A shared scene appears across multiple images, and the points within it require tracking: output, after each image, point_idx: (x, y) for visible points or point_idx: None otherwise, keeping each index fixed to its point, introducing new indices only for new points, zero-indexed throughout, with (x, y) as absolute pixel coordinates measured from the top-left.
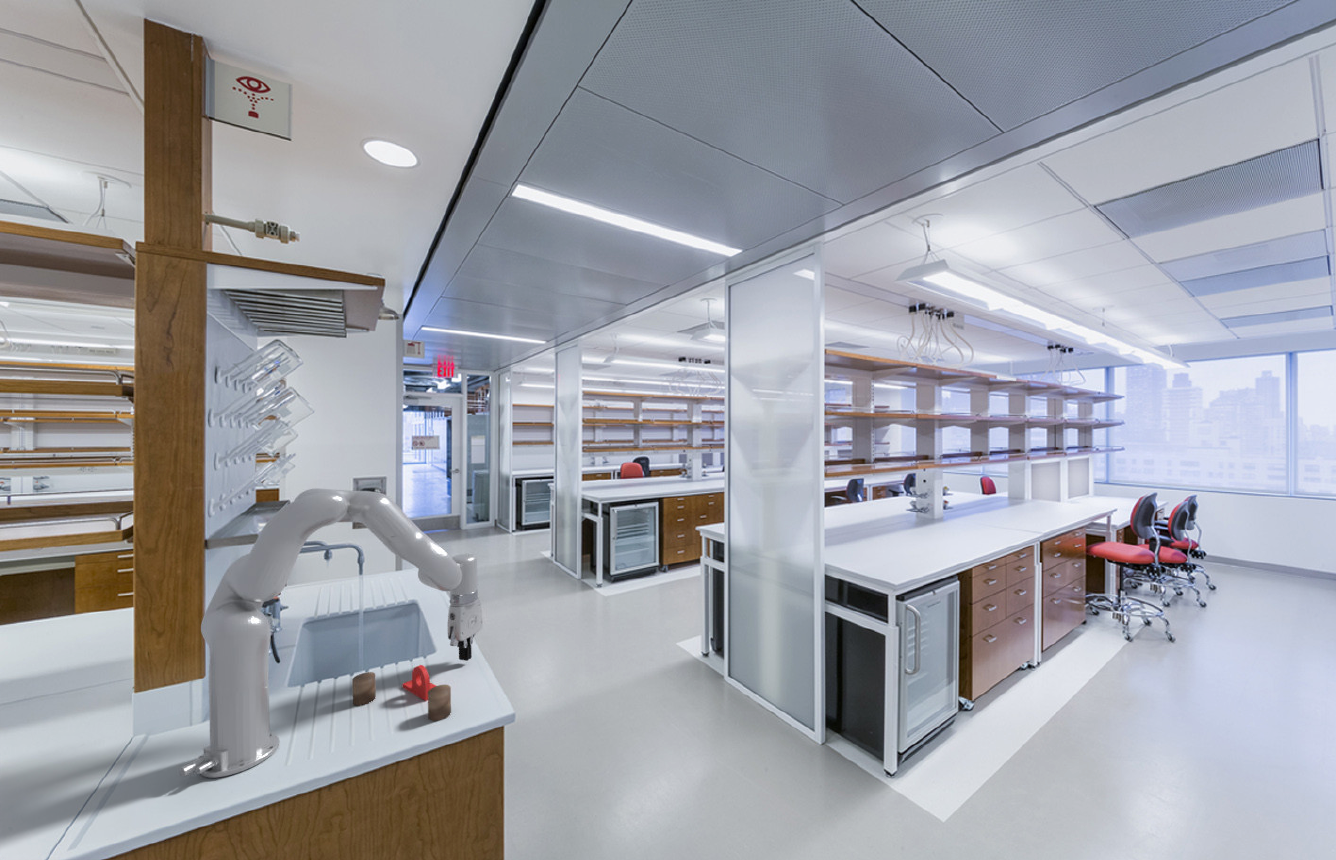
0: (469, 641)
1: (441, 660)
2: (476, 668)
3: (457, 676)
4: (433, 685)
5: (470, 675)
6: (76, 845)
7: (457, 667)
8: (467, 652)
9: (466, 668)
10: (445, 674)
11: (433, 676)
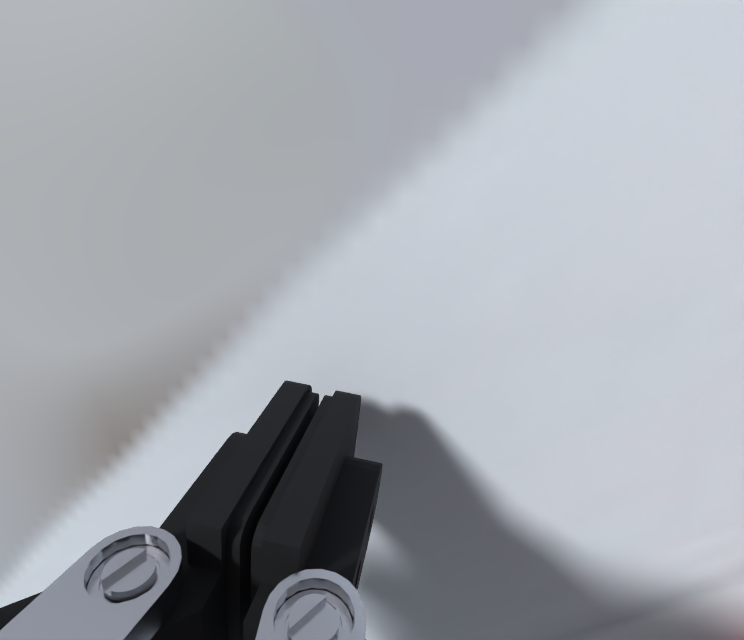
0: (148, 629)
1: None
2: (420, 213)
3: (651, 352)
4: None
5: (633, 185)
6: None
7: (421, 451)
8: (332, 473)
9: (433, 344)
10: (589, 501)
11: (632, 589)
